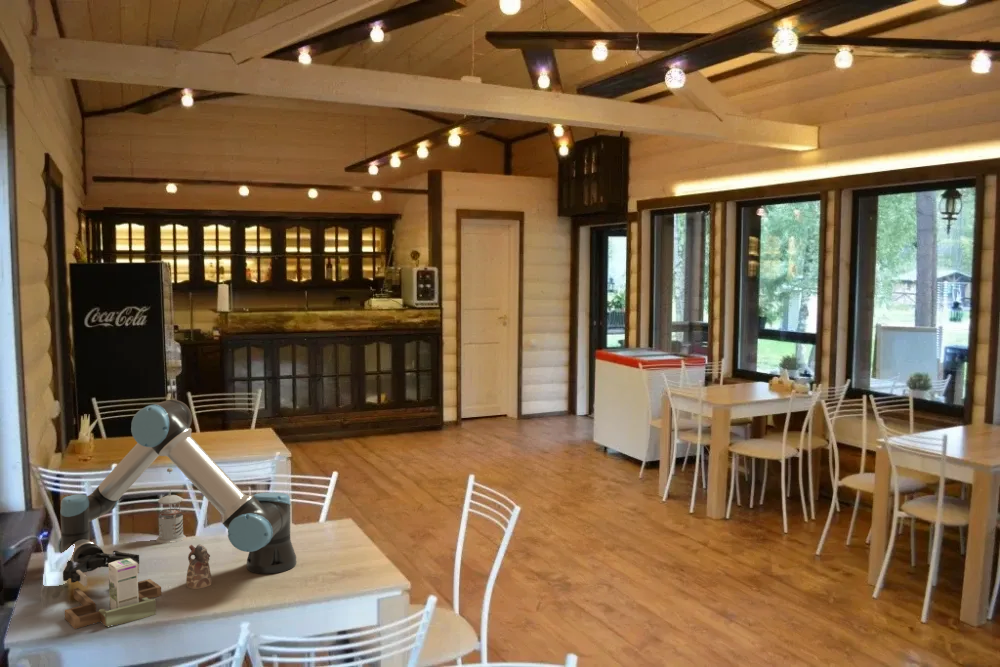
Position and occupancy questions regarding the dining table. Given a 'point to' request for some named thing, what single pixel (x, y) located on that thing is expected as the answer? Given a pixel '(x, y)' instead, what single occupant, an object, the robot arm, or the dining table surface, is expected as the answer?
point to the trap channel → (121, 615)
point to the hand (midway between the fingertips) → (112, 574)
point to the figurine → (198, 568)
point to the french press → (170, 519)
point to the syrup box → (123, 583)
